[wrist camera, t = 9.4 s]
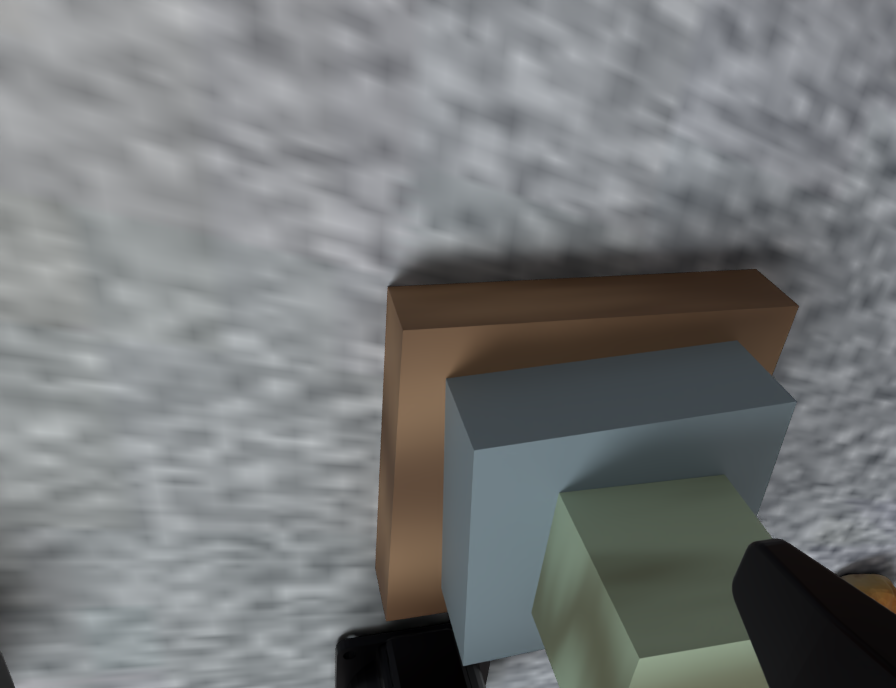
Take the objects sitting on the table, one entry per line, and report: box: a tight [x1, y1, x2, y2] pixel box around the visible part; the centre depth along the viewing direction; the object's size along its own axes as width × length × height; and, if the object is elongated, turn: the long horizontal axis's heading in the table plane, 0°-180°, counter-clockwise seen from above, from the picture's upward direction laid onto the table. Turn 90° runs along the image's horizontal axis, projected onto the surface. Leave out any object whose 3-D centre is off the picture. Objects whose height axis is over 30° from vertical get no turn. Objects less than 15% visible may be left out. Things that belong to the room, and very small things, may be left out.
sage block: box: [531, 475, 773, 688], centre depth 20 cm, size 5×5×5 cm
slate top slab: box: [441, 340, 797, 666], centre depth 24 cm, size 9×9×3 cm
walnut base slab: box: [375, 269, 799, 621], centre depth 26 cm, size 12×12×3 cm
